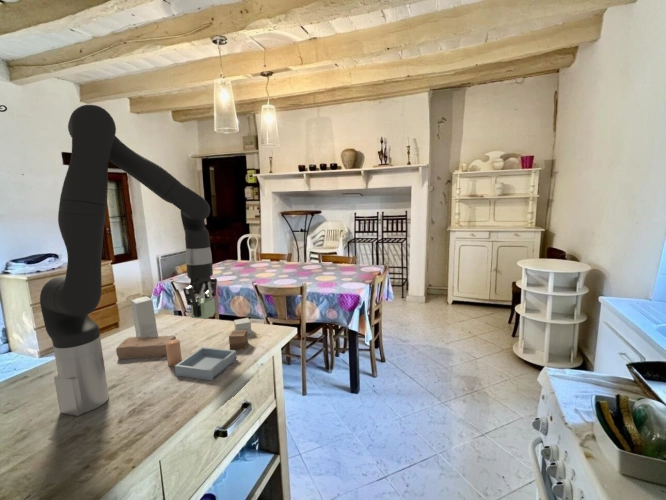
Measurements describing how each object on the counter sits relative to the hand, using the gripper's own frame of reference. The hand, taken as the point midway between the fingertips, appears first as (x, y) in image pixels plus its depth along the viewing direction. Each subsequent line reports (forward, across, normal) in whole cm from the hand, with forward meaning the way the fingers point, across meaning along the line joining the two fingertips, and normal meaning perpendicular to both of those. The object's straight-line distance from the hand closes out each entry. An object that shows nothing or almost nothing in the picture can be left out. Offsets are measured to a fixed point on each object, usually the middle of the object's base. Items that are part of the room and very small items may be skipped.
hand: (203, 313), depth 105 cm
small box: (+15, +20, -2) cm, 25 cm away
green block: (+1, 0, 0) cm, 1 cm away
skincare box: (+15, +10, +34) cm, 38 cm away
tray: (+15, -6, -4) cm, 17 cm away
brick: (+16, 0, +22) cm, 27 cm away
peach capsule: (+15, -5, +8) cm, 18 cm away
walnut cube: (+15, +9, -6) cm, 19 cm away
